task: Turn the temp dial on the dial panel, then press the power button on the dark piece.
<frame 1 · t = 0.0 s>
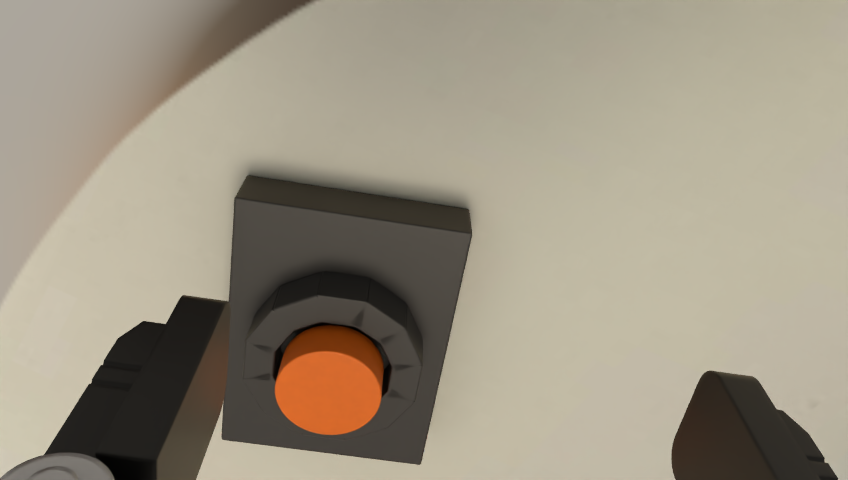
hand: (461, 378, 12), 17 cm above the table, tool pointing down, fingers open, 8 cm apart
power button: (330, 380, 28), point 4 cm above the table, slide at 0.1 cm
dark piece: (342, 315, 32), on the table
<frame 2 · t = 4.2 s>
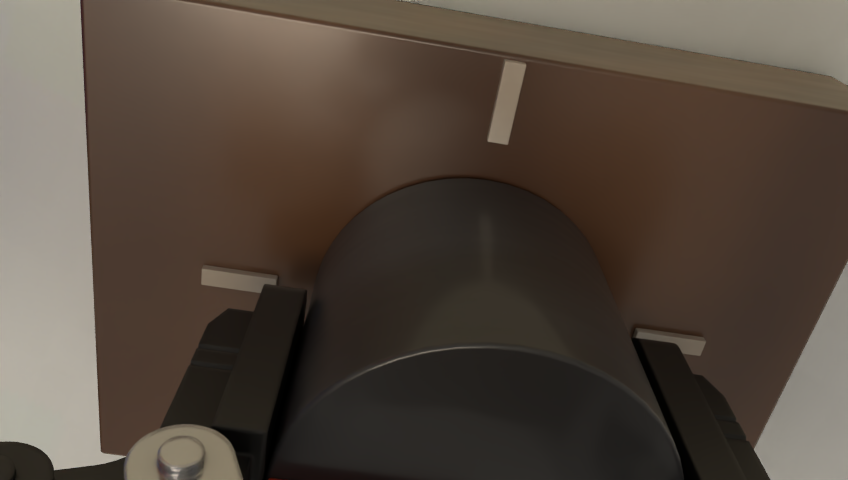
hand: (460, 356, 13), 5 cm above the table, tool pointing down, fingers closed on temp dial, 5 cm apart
temp dial: (465, 400, 12), point 6 cm above the table, hinge at 0.1°, touching gripper
dial panel: (453, 237, 17), on the table
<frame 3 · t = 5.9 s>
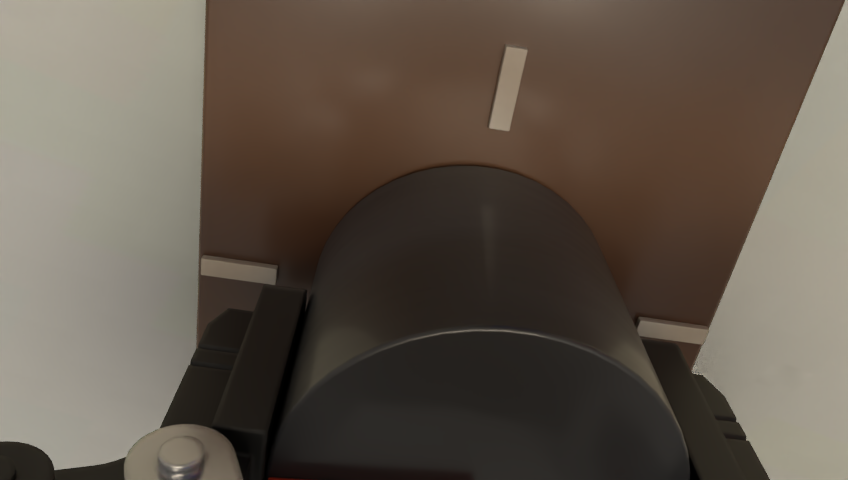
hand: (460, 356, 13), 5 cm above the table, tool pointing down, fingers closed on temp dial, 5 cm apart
temp dial: (467, 389, 12), point 6 cm above the table, hinge at 94.7°, touching gripper
dial panel: (454, 228, 17), on the table
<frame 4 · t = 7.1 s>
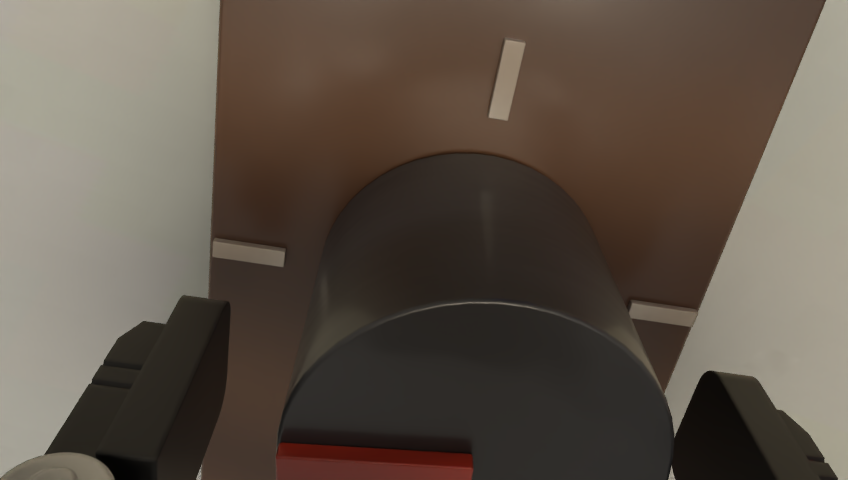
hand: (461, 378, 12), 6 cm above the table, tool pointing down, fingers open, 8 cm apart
temp dial: (466, 364, 12), point 6 cm above the table, hinge at 95.2°
dial panel: (454, 215, 18), on the table
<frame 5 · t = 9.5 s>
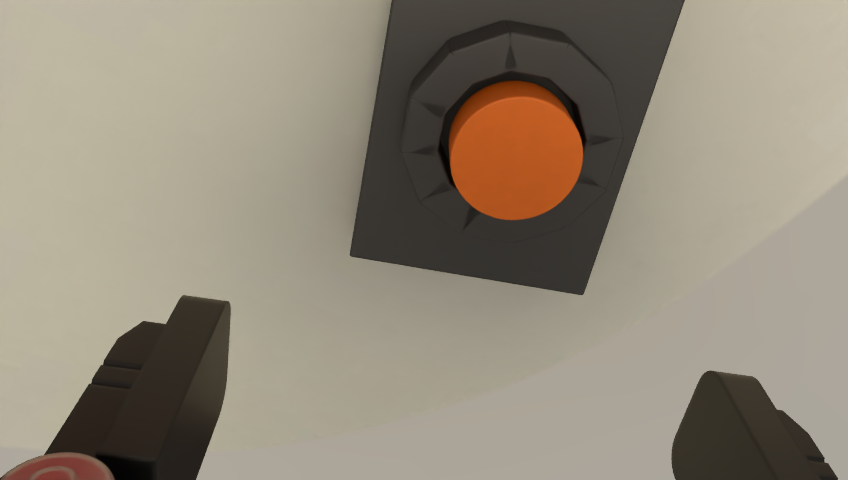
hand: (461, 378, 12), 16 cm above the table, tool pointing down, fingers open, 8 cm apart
power button: (513, 150, 23), point 4 cm above the table, slide at 0.1 cm
dark piece: (500, 106, 27), on the table
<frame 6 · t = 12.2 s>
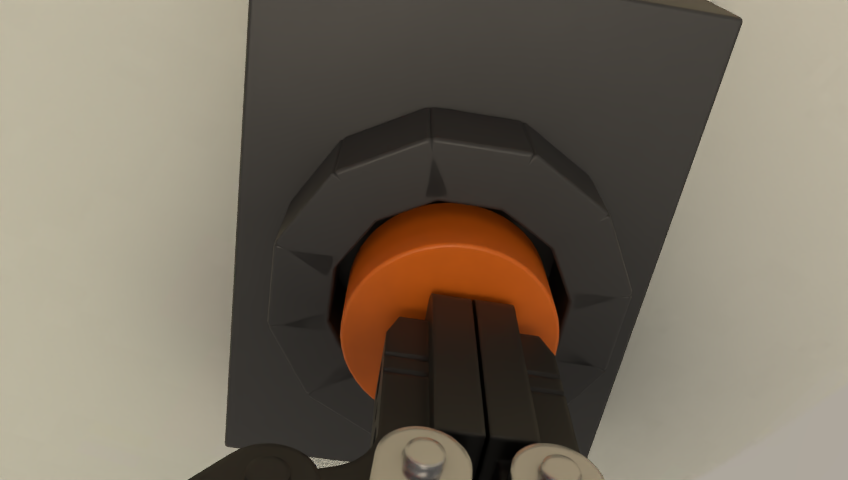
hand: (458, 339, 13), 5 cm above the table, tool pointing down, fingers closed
power button: (448, 314, 14), point 4 cm above the table, slide at -0.3 cm, touching gripper
dark piece: (443, 220, 18), on the table
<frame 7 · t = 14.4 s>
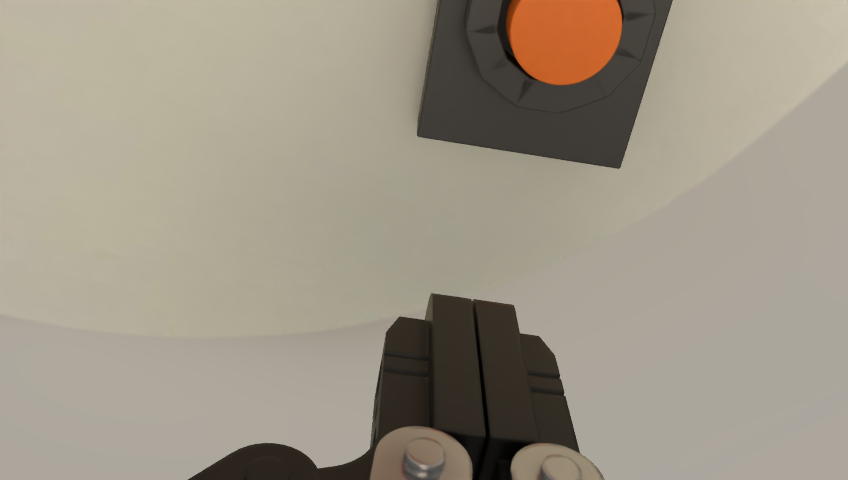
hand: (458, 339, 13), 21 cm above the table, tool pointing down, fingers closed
power button: (562, 25, 27), point 4 cm above the table, slide at 0.1 cm
dark piece: (545, 2, 31), on the table
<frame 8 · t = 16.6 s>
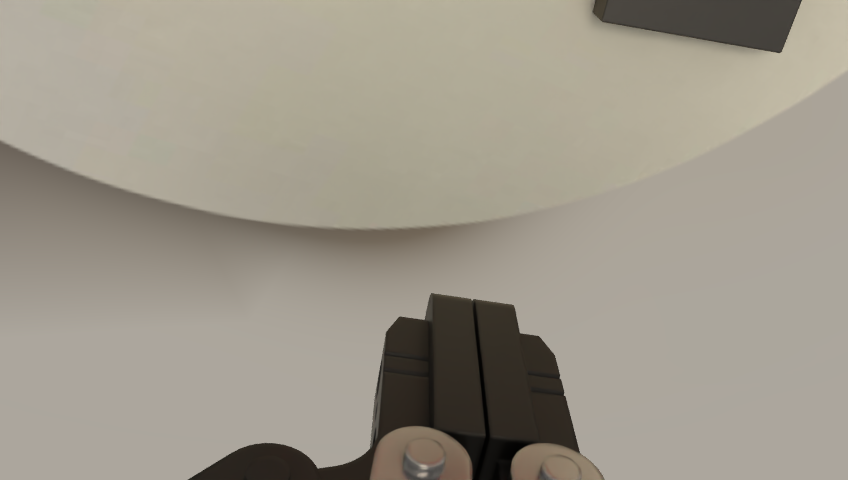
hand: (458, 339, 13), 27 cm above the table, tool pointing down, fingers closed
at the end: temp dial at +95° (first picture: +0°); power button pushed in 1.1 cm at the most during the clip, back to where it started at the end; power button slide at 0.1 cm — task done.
